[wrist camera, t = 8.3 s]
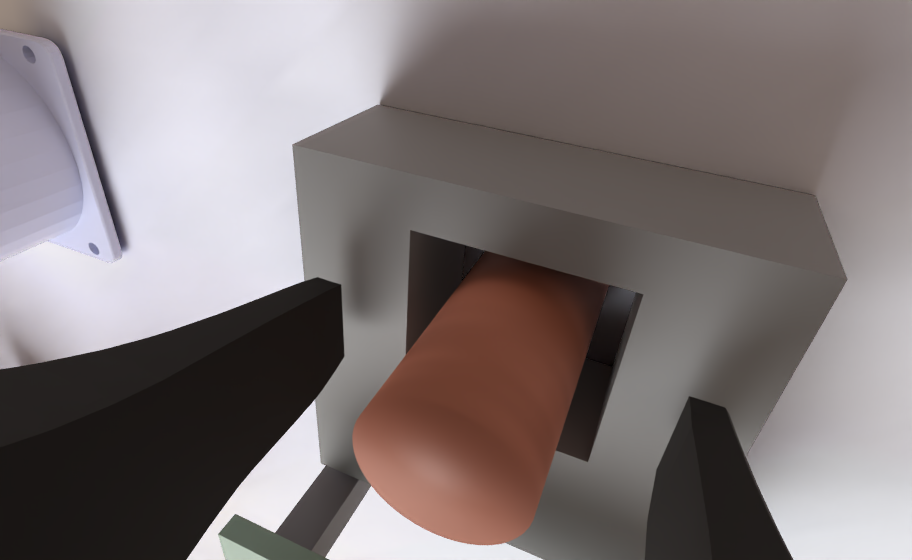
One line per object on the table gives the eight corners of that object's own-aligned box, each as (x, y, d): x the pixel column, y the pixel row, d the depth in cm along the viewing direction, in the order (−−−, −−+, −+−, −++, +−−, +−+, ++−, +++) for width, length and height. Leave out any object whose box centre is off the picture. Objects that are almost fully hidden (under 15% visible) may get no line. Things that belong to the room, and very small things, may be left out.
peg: (485, 304, 16) (358, 501, 10) (494, 202, 14) (346, 372, 8) (597, 334, 15) (524, 571, 9) (621, 228, 13) (549, 440, 7)
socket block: (366, 431, 21) (239, 607, 15) (360, 101, 14) (124, 203, 8) (661, 550, 18) (635, 823, 12) (843, 201, 11) (970, 467, 5)
